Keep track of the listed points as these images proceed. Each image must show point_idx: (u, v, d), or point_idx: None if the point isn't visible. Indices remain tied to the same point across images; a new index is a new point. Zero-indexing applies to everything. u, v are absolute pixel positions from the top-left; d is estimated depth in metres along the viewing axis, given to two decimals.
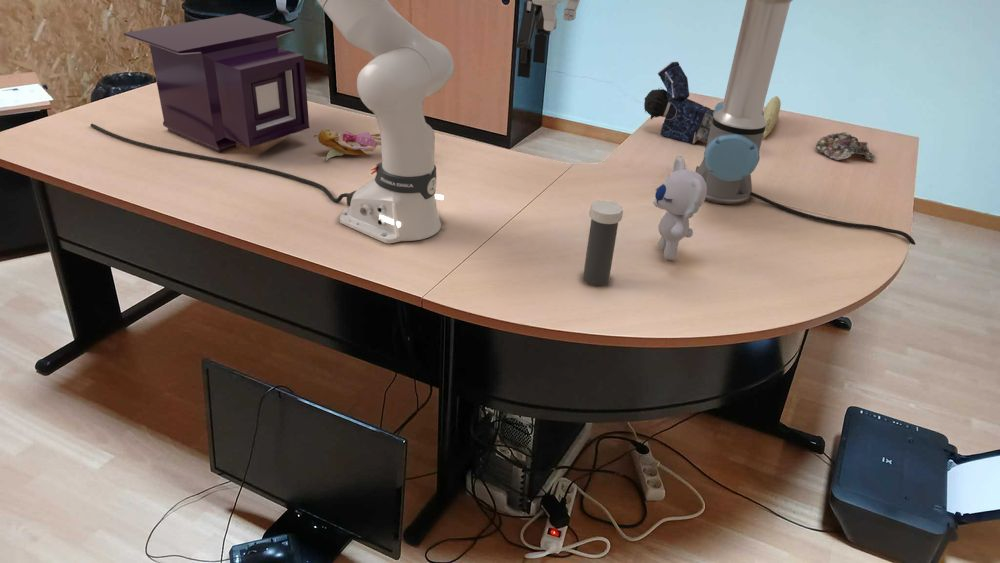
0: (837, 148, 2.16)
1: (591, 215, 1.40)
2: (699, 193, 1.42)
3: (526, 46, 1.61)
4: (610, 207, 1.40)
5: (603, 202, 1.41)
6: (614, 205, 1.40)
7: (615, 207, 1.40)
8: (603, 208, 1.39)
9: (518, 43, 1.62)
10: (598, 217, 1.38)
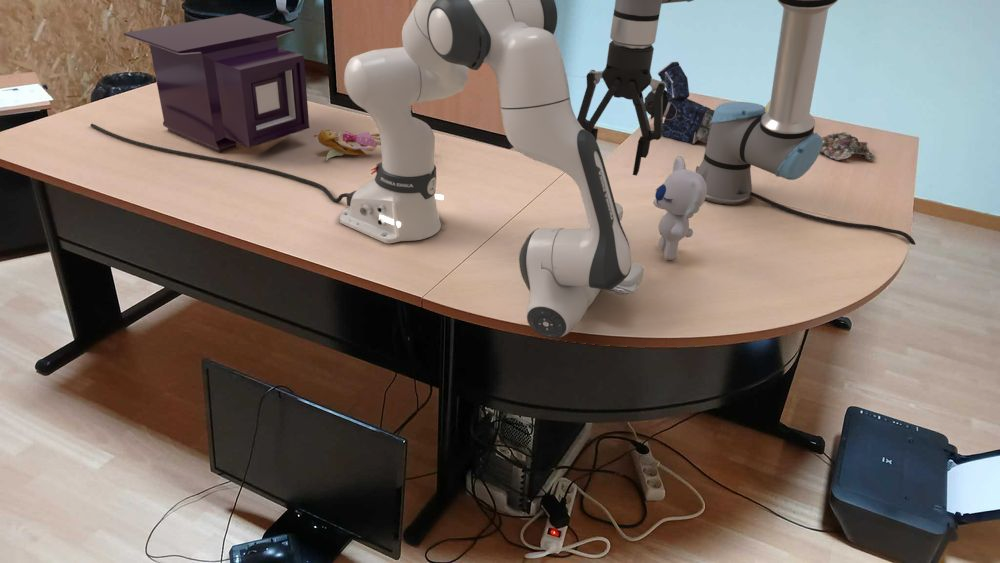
0: (837, 148, 2.16)
1: None
2: (699, 193, 1.42)
3: None
4: None
5: None
6: None
7: None
8: None
9: None
10: None
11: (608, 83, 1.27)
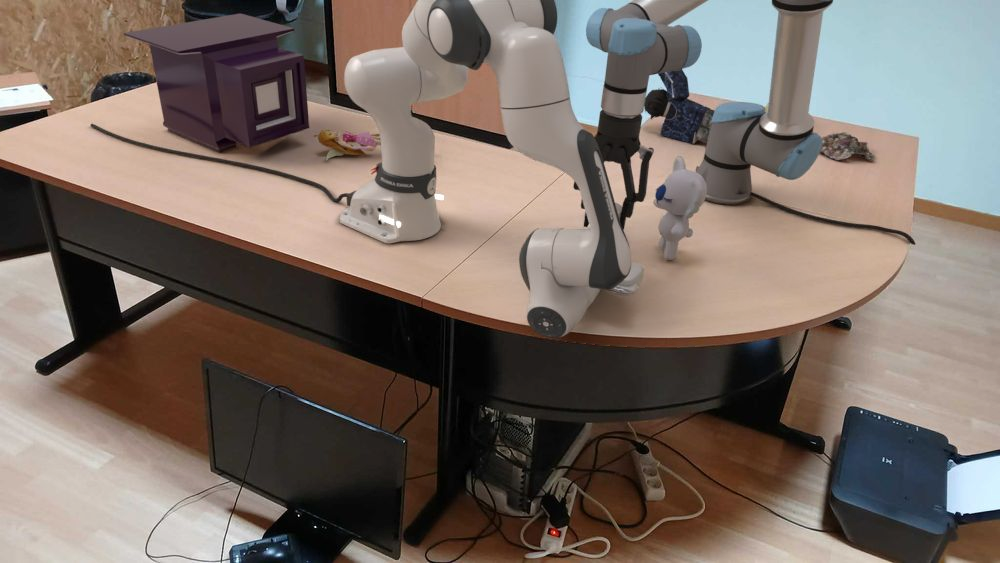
0: (837, 148, 2.16)
1: None
2: (699, 193, 1.42)
3: None
4: None
5: None
6: None
7: None
8: None
9: None
10: None
11: (599, 148, 1.33)
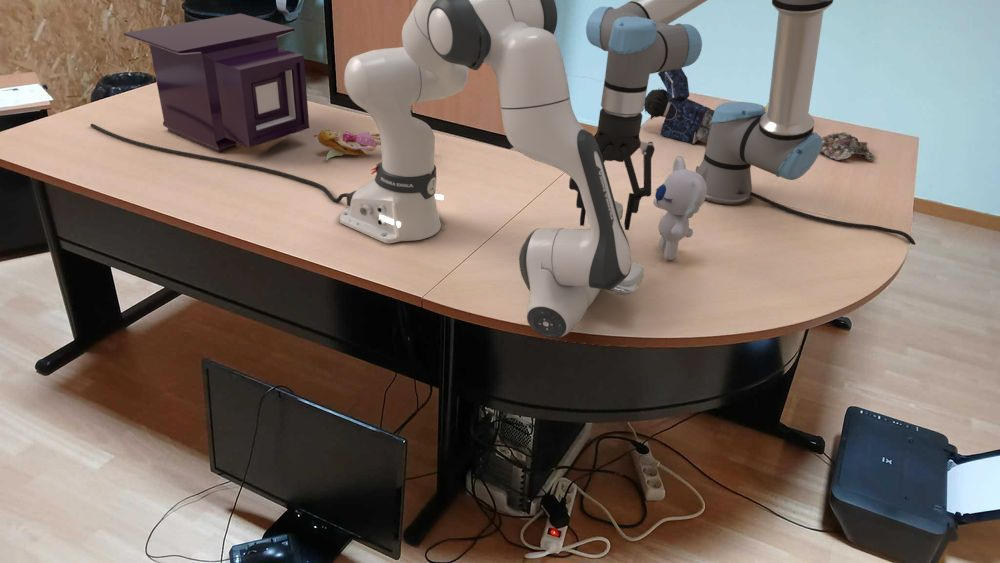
0: (837, 148, 2.16)
1: None
2: (699, 193, 1.42)
3: (569, 187, 1.37)
4: None
5: None
6: None
7: None
8: None
9: (569, 181, 1.39)
10: (621, 214, 1.39)
11: (600, 148, 1.33)
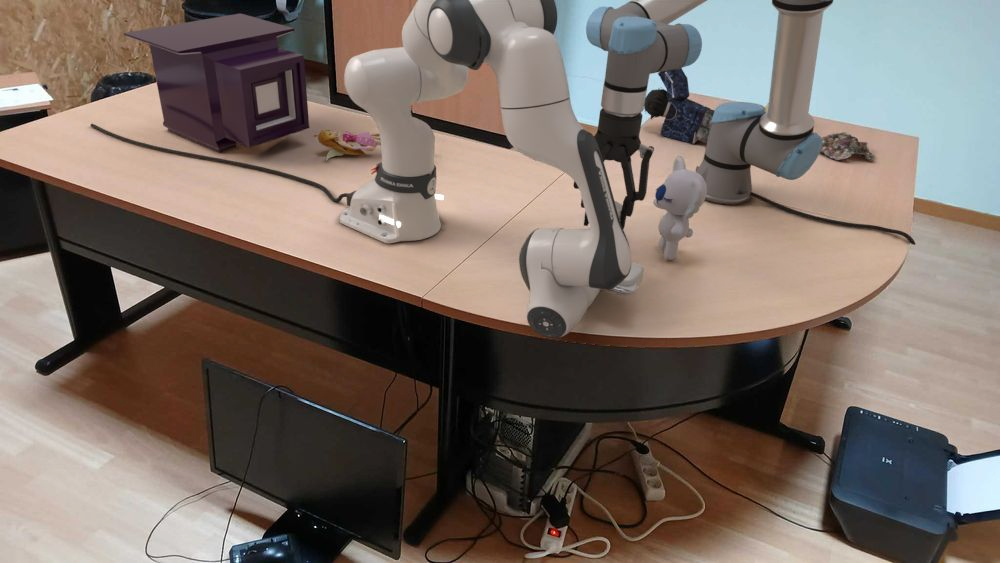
0: (837, 148, 2.16)
1: None
2: (699, 193, 1.42)
3: None
4: None
5: None
6: None
7: None
8: None
9: None
10: None
11: (599, 147, 1.33)
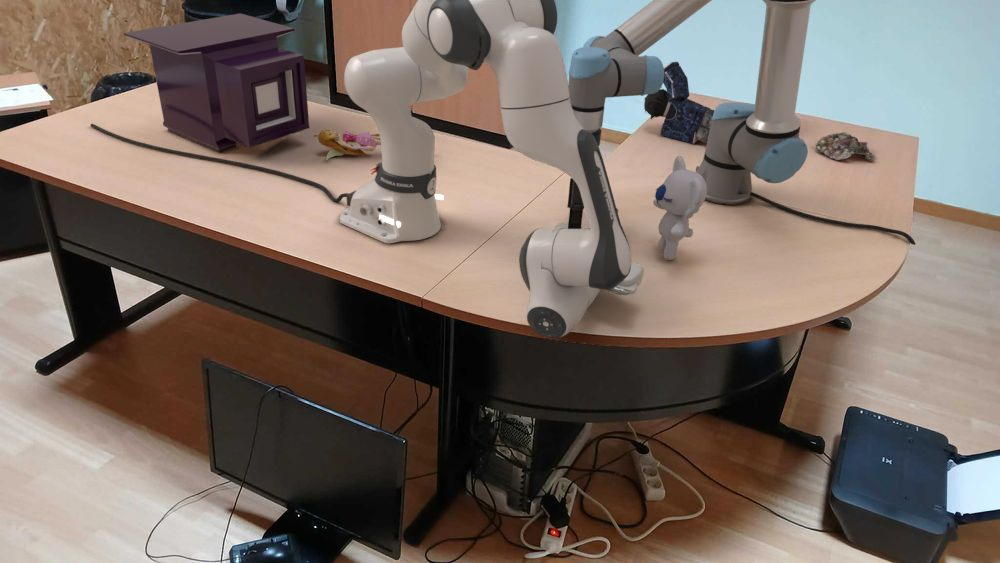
0: (837, 148, 2.16)
1: None
2: (699, 193, 1.42)
3: (582, 208, 1.48)
4: (566, 228, 1.62)
5: None
6: None
7: None
8: None
9: (573, 206, 1.48)
10: None
11: None
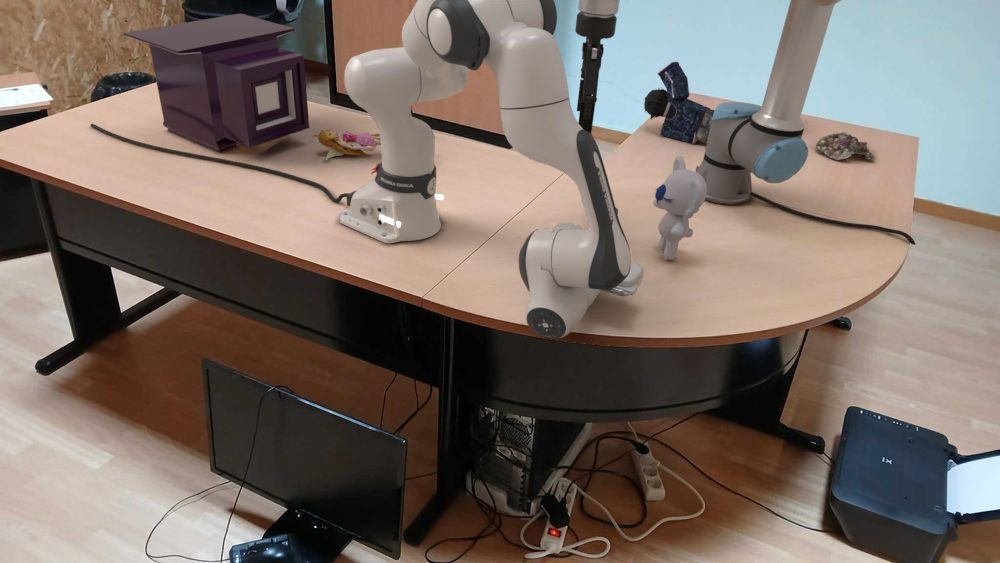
0: (837, 148, 2.16)
1: None
2: (699, 193, 1.42)
3: (594, 101, 1.36)
4: (566, 228, 1.62)
5: None
6: None
7: None
8: (570, 226, 1.63)
9: (584, 98, 1.36)
10: None
11: None
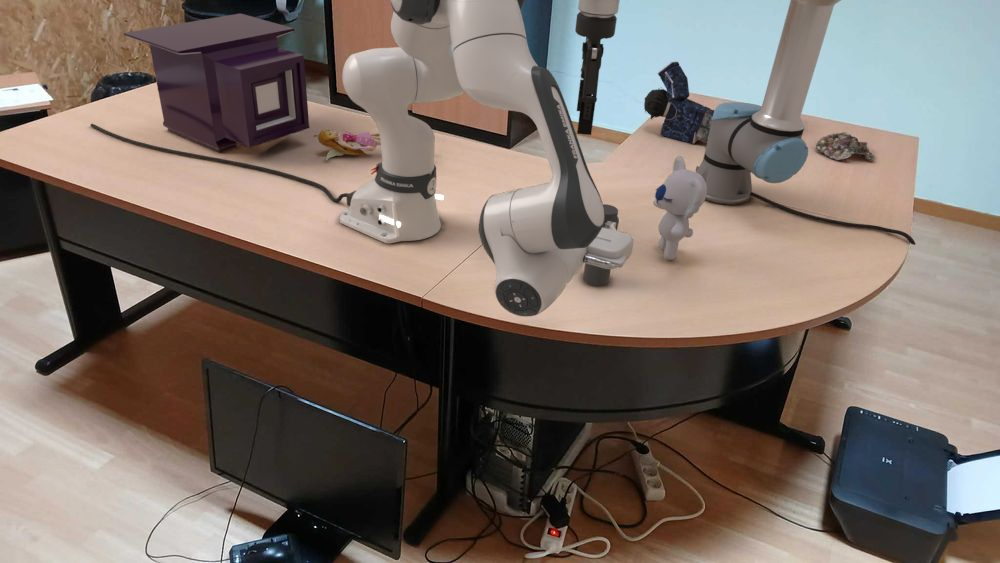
0: (837, 148, 2.16)
1: None
2: (699, 193, 1.42)
3: (594, 101, 1.36)
4: None
5: None
6: None
7: None
8: None
9: (584, 98, 1.36)
10: None
11: None
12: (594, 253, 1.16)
